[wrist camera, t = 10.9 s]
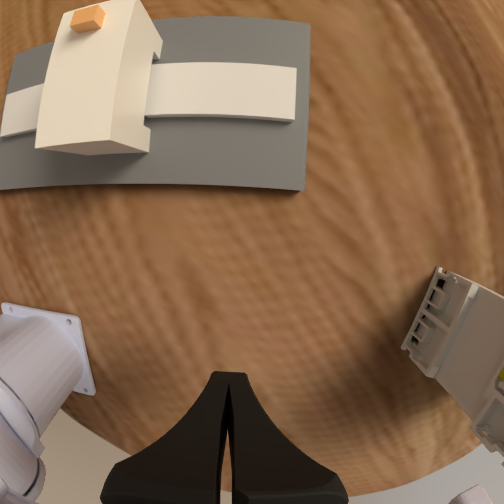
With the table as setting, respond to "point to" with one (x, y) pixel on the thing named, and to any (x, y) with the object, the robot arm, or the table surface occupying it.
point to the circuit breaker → (464, 350)
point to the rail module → (99, 81)
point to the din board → (185, 111)
